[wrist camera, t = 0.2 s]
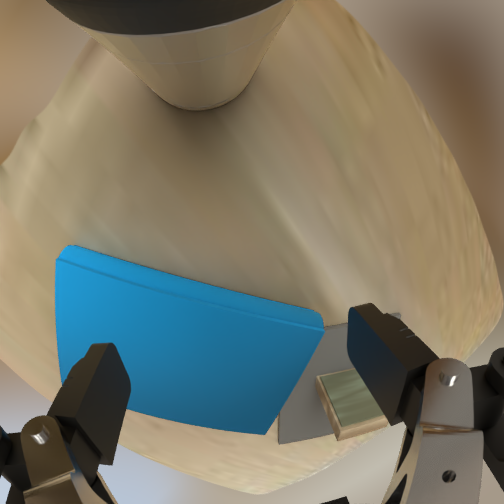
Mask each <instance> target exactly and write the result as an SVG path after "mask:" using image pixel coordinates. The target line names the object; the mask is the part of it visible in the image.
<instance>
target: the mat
mask: <svg viewBox="0 0 504 504" xmlns="http://www.w3.org/2000/svg"><path fill="white" fill-rule="evenodd" d="M390 315H392V316H394V317H396V318H398V319H400V318H401V314H400V313H395V314H390ZM324 330H325V333H324V335H323V337H322V339H321V341H320V342H319V344H318V346H317V348H316V350H315V352H314V354H313V356H312V357H311V359H310V361H309V363H308V365H307V366H306V368H305V370H304V372H303V374H302V375H301V377H300V379H299V380H298V382H297V384H296V386H295V387H294V389H293V391H292V392H291V394H290V396H289V397H288V399H287V401H286V402H285V404H284V406H283V407H282V409H281V411H280V412H279V434H278V443H279V445H280V444H286V443H291V442H297V441H302V440H307V439H312V438H316V437H321V436H325V435H329V434H333V433H334V431H333V429H332V426H331V424H330V421H329V419H328V417H327V414H326V412H325V409H324V407H323V404H322V402H321V400H320V397H319V395H318V392H317V390H316V387H315V385H316V377H317V376H319V375H324V374H329V373H334V372H339V371H343V370H348V369H352V368H355V367H354V366H353V364H352V363H351V361H350V359H349V356H348V352H347V331H348V323H345V324H339V325H333V326H327V327H324Z"/></svg>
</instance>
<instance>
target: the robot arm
mask: <svg viewBox="0 0 504 504" xmlns="http://www.w3.org/2000/svg"><path fill="white" fill-rule="evenodd" d="M46 1H47V2H48V3H49V4H50V5H52V6H53V7H54V8H56V9H57V10H59V11H60V12H61V13H62V14H63V15H65V16H66V17H68V18H69V19H70V20H72V21H73V22H74V23H75V24H76V25H78V26H79V27H80V28H82V29H83V30H84V31H85V32H86V33H88V34H89V35H90V36H91V37H92V38H94V39H95V40H96V41H97V42H99V43H100V44H101V45H102V46H103V47H105V48H106V49H107V50H108V51H109V52H110V53H112V54H113V55H114V56H115V57H116V58H117V59H119V60H120V61H121V62H122V63H123V64H124V65H125V66H126V67H128V68H129V69H130V70H131V71H132V72H133V73H134V74H135V75H137V76H138V77H139V78H140V79H141V80H142V81H143V82H144V83H145V84H147V85H148V86H149V87H150V88H151V89H152V90H153V91H154V92H155V93H156V94H157V95H158V96H159V97H161V98H162V99H163V100H165V101H166V102H168V103H169V104H171V105H173V106H176V107H178V108H181V109H186V110H207V109H213V108H216V107H219V106H221V105H224V104H226V103H228V102H229V101H231V100H233V99H234V98H236V97H237V96H238V95H239V94H240V93H241V92H242V91H243V90H244V89H245V87H246V86H247V84H248V83H249V82H250V80H251V78H252V76H253V74H254V72H255V71H256V69H257V67H258V65H259V64H260V62H261V60H262V58H263V56H264V55H265V53H266V51H267V49H268V47H269V46H270V44H271V42H272V41H273V39H274V37H275V35H276V34H277V32H278V30H279V29H280V27H281V25H282V24H283V22H284V20H285V19H286V17H287V15H288V14H289V12H290V11H291V9H292V7H293V6H294V4H295V2H296V0H46ZM347 352H348V356H349V359H350V361H351V363H352V364H353V366H354V367H355V369H356V371H357V372H358V374H359V375H360V377H361V378H362V380H363V382H364V383H365V385H366V386H367V388H368V390H369V391H370V393H371V394H372V396H373V398H374V399H375V401H376V402H377V404H378V406H379V407H380V409H381V410H382V412H383V414H384V415H385V417H386V419H387V420H388V422H389V423H390V425H391V426H393V425H395V424H398V423H400V422H402V421H403V422H404V423H405V425H406V426H407V427H406V430H405V432H404V436H403V441H402V445H401V449H400V452H399V456H398V460H397V463H396V467H395V470H394V474H393V477H392V480H391V482H390V485H389V487H388V489H387V491H386V493H385V496H384V498H383V501H382V503H381V504H478V502H479V494H480V487H481V477H482V465H483V459H484V461H485V462H486V464H487V465H488V467H489V468H490V470H491V472H492V473H493V475H494V477H495V478H496V480H497V481H498V483H499V485H500V487H501V488H502V490H503V491H504V348H499V349H497V350H495V351H494V352H493V353H492V355H491V358H490V360H489V363H488V364H487V365H482V366H477V367H472V368H469V367H468V366H467V365H466V364H464V363H463V362H461V361H459V360H457V359H453V358H441V359H440V358H439V357H438V356H437V355H436V354H435V353H434V352H433V351H432V350H431V349H430V348H429V347H428V346H427V345H426V344H425V343H424V342H423V341H422V340H421V339H420V338H419V337H418V336H417V335H416V336H415V334H414V333H413V332H412V331H411V330H410V329H408V327H407V326H406V325H405V324H404V323H403V322H402V321H401V320H400V319H398V318H396V317H394V316H392V315H390V314H388V313H386V314H383V313H382V312H381V311H380V310H379V309H378V308H377V307H376V306H375V305H374V304H372V303H368V304H363V305H359V306H355V307H351V308H350V309H349V313H348V331H347ZM62 386H63V387H61V388H60V390H59V392H58V394H57V396H56V398H55V400H54V401H53V404H52V405H51V407H50V409H49V411H48V414H47V415H46V416H45V415H42V416H37V417H35V418H33V419H31V420H29V421H28V422H27V423H26V424H25V425H24V427H23V429H22V431H21V432H18V433H9V434H7V433H6V432H5V431H4V430H3V428H2V427H1V426H0V477H1V475H2V476H3V477H4V478H5V479H6V480H7V481H9V482H10V483H11V487H10V491H9V494H8V497H7V501H6V504H118V503H117V501H116V500H115V498H114V497H113V495H112V493H111V492H110V490H109V489H108V486H107V485H106V483H105V481H104V480H103V478H102V476H101V475H100V473H99V472H98V471H97V470H98V466H99V464H103V465H112V464H113V460H114V456H115V451H116V447H117V443H118V439H119V435H120V431H121V427H122V423H123V419H124V416H125V412H126V408H127V405H128V401H129V397H130V394H131V382H130V378H129V375H128V373H127V371H126V369H125V366H124V364H123V362H122V360H121V357H120V355H119V353H118V350H117V348H116V346H115V345H114V344H113V343H112V342H110V343H93V344H92V345H91V346H90V348H89V349H88V351H87V353H86V355H85V356H84V358H81V359H80V360H79V361H78V362H77V363H76V364H75V365H74V366H73V367H72V368H71V370H70V372H69V373H68V375H67V379H65V381H64V383H63V384H62ZM321 504H349V502H348V499H347V497H346V496H345V497H342V498H339V499H336V500H332V501H329V502H325V503H321Z"/></svg>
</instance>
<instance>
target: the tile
mask: <svg viewBox="0 0 504 504" xmlns="http://www.w3.org/2000/svg"><path fill="white" fill-rule="evenodd" d="M315 387H316V390H317V392H318V395H319V397H320V400H321V402H322V404H323V407H324V409H325V412H326V414H327V417H328V419H329V421H330V424H331V426H332V429H333V431H334V434H335V436H336V439H337V441H341V440H344V439H348V438H351V437H355V436H358V435H362V434H365V433H368V432H371V431H374V430H377V429H380V428H383V427H386V426H387V424H388V420H387V419H386V417H385V415H384V414H383V412H382V410H381V409H380V407H379V406H378V404H377V402H376V401H375V399H374V398H373V396H372V394H371V393H370V391H369V390H368V388H367V386H366V385H365V383H364V382H363V380H362V378H361V377H360V375H359V374H358V372H357V371H356V369H355V368H352V369H348V370H343V371H339V372H334V373H329V374H324V375H319V376H317V377H316V385H315Z"/></svg>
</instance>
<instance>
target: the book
mask: <svg viewBox="0 0 504 504" xmlns="http://www.w3.org/2000/svg"><path fill="white" fill-rule="evenodd" d="M55 314H56V334H57V347H58V358H59V367H60V374H61V382H62V384H63V383H64V381H65V379H67V375H68V373H69V372H70V370H71V368H72V367H73V366H74V365H75V364H76V363H77V362H78V361H79V360H80V359H81V358H84V356H85V355H86V353H87V351H88V349H89V348H90V346H91V345H92V344H93V343H110V342H112V343H113V344H114V345H115V346H116V348H117V350H118V353H119V355H120V357H121V360H122V362H123V364H124V366H125V369H126V371H127V373H128V375H129V378H130V382H131V394H130V397H129V401H128V405H127V408H126V409H129V410H132V411H136V412H139V413H143V414H147V415H150V416H154V417H158V418H162V419H167V420H171V421H176V422H180V423H185V424H190V425H195V426H201V427H207V428H213V429H219V430H226V431H233V432H241V433H250V434H260V435H265V434H266V432H267V431H268V429H269V428H270V426H271V425H272V423H273V422H274V420H275V418H276V417H277V415H278V414H279V412H280V411H281V409H282V407H283V406H284V404H285V402H286V401H287V399H288V397H289V396H290V394H291V392H292V391H293V389H294V387H295V386H296V384H297V382H298V380H299V379H300V377H301V375H302V374H303V372H304V370H305V368H306V366H307V365H308V363H309V361H310V359H311V357H312V356H313V354H314V352H315V350H316V348H317V346H318V344H319V342H320V341H321V339H322V337H323V335H324V333H325V330H324V325H323V320H322V317H321V315H320V314H319V313H317V312H314V310H310V309H305V308H301V307H297V306H292V305H288V304H284V303H280V302H276V301H271V300H267V299H263V298H259V297H255V296H251V295H247V294H243V293H239V292H235V291H231V290H227V289H224V288H220V287H216V286H212V285H208V284H205V283H201V282H197V281H194V280H190V279H186V278H183V277H179V276H176V275H172V274H168V273H165V272H161V271H158V270H154V269H151V268H148V267H144V266H141V265H137V264H134V263H131V262H127V261H124V260H121V259H117V258H114V257H111V256H108V255H105V254H101V253H98V252H95V251H92V250H89V249H86V248H82V247H79V246H76V245H74V246H72V245H69V246H67V247H65V248H64V249H63V251H62V252H61V254H60V255H59V257H58V258H57V259H56V271H55Z"/></svg>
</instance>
